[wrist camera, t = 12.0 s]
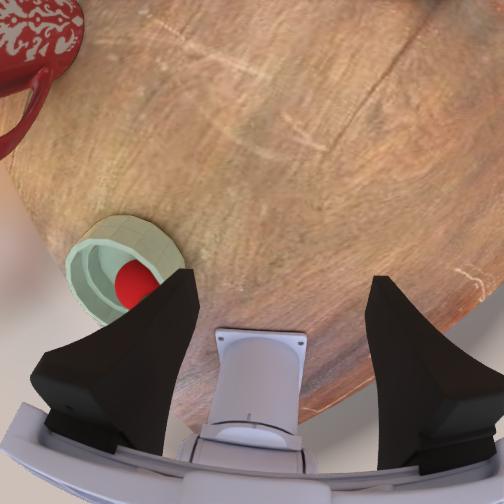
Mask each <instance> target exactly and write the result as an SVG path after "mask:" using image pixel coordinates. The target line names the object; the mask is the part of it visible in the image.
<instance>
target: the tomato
mask: <svg viewBox="0 0 504 504" xmlns="http://www.w3.org/2000/svg"><path fill="white" fill-rule="evenodd" d="M114 286H115V293H116V296H117V298H118V300H119V301H120V302H121V304H122V305H123V306H124V307H126V308H127V309H129V310H131V309H132V308H133V307H134V306H136V305H137V304H138V303H139V302H141V301H142V300H143V299H144V298H146V297H147V296H148V295H149V294H150V293H152V292H153V291H154V290H155V289H156V288H157V287H158V286H160V284H159V282H158V281H157V279H156V278H155V276H154V275H153V273H152V272H151V271H150V269H148V268H147V267H146V266H145V265H143V264H142V263H141V262H140V261H138V260H137V259H135V260H131V261H129V262H127V263H126V264H124V265H123V266H122V267H121V268H120V270H119V271H118V273H117V275H116V278H115V285H114Z"/></svg>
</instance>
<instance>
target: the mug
mask: <svg viewBox="0 0 504 504" xmlns="http://www.w3.org/2000/svg"><path fill="white" fill-rule="evenodd" d="M82 36H83V15H82V12H81V9H80V7H79V5H78V3H77V2H76V1H75V0H0V99H1V98H3V97H6V96H9V95H11V94H15V93H17V92H20V91H23V90H26V89H29V88H32V89H33V95H32V98H31V101H30V103H29V105H28V108H27V110H26V112H25V114H24V116H23V118H22V119H21V121H20V122H19V123H18V125H17V126H16V127H15V128H14V129H12V130H11V131H10V132H8V133H7V134H5V135H3V136H1V137H0V160H2V159H3V158H4V157H6V156H7V155H8V154H9V153H11V152H12V151H13V150H14V149H15V148H16V146H17V145H18V144H19V143H20V142H21V140H22V139H23V138H24V136H25V135H26V133H27V132H28V130H29V129H30V127H31V126H32V124H33V122H34V121H35V119H36V117H37V115H38V113H39V111H40V109H41V107H42V105H43V103H44V101H45V99H46V97H47V94H48V92H49V89H50V86H51V83H52V81H53V80H55V79H57V78H58V77H59V76H61V75H62V74H63V73H64V72H65V71H66V70H67V69H68V67H69V66H70V65H71V63H72V62H73V60H74V58H75V56H76V54H77V52H78V50H79V47H80V44H81V41H82Z"/></svg>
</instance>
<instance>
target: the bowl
mask: <svg viewBox="0 0 504 504" xmlns="http://www.w3.org/2000/svg"><path fill="white" fill-rule="evenodd" d="M135 259H137V260H138V261H140V262H141V263H142V264H143V265H145V266H146V267H147V268H148V269H150V271H151V272H152V273H153V275H154V276H155V278H156V279H157V281H158V282H159V284H160V285H161V284H162V283H163V282H164V281H165V280H166V279H167V278H168V277H170V276H171V275H172V274H173V273H174V272H175V271H176V270H178V269H179V268H184V269H186V268H185V262H184V258H183V256H182V255H181V253H180V252H179V250H178V248H177V247H176V245H175V244H174V242H173V240H171V238H170V237H168V236H167V235H166V234H165V233H164V232H162V231H161V230H160V229H159V228H158V227H156V226H155V225H154V224H152V223H150V222H148V221H145V220H142V219H140V218H137V217H135V216H131V215H112V216H109V217H107V218H105V219H103V220H101V221H99V222H98V223H96V224H95V225H94V226H93V227H92V228H91V229H90V230H89V231H88V232H87V233H86V234H85V235H84V236H83V237H82V238H81V239H80V240H79V241H78V242H77V243H76V244H75V245H74V246H73V247H72V249H71V251H70V253H69V255H68V257H67V259H66V261H65V264H66V280H67V282H68V284H69V287H70V289H71V292H72V294H73V296H74V297H75V299H76V300H77V301H78V303H80V305H81V306H82V307H83V309H84V310H85V311H86V312H87V313H88V314H89V315H90V316H92V317H93V318H94V319H95V320H97V321H98V322H99V323H101V324H102V325H104V326H107V325H109V324H110V323H112V322H113V321H115V320H116V319H118V318H119V317H121V316H122V315H124V314H125V313H127V312H128V311H129V309H127V308H126V307H124V306H123V305H122V304H121V302H120V301H119V300H118V298H117V296H116V293H115V286H114V285H115V278H116V275H117V273H118V271H119V270H120V268H121V267H122V266H123V265H124V264H126V263H127V262H129V261H131V260H135Z"/></svg>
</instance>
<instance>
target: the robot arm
mask: <svg viewBox="0 0 504 504" xmlns="http://www.w3.org/2000/svg"><path fill="white" fill-rule="evenodd" d="M199 309H200V304H199V299H198V293H197V288H196V282H195V276H194V270H193V269H184V268H179V269H178V270H176V271H175V272H174V273H173V274H172V275H171V276H170V277H168V278H167V279H166V280H165V281H164V282H163V283H162V284H161V285H160V286H158V287H157V288H156V289H155V290H154V291H153V292H152V293H150V294H149V295H148V296H147V297H146V298H144V299H143V300H142V301H141V302H139V303H138V304H137V305H136V306H134V307H133V308H132V309H131V310H129V311H128V312H127V313H125V314H124V315H122V316H121V317H119V318H118V319H116V320H115V321H113V322H112V323H110V324H109V325H107V326H105V327H103V328H101V329H100V330H98V331H96V332H94V333H92V334H91V335H89V336H86V337H84V338H82V339H80V340H78V341H75V342H73V343H71V344H69V345H66V346H63V347H60V348H57V349H54V350H51V351H48V352H45V353H44V355H43V356H42V358H41V360H40V361H39V363H38V364H37V366H36V368H35V369H34V371H33V372H32V374H31V376H30V381H31V383H32V386H33V387H34V389H35V390H36V392H37V393H38V394H39V395H40V396H41V397H42V399H43V400H44V401H45V402H46V403H47V404H48V406H49V407H50V408H51V410H50V412H49V414H47V413H45V412H44V411H42V410H41V409H38V408H36V407H34V406H32V405H29V404H27V403H25V402H23V403H22V404H21V406H20V408H19V409H18V411H17V413H16V415H15V417H14V419H13V421H12V423H11V424H10V426H9V429H8V430H7V432H6V434H5V437H4V438H3V440H2V442H1V444H0V450H1V451H2V452H3V453H5V454H6V455H7V456H9V457H10V458H11V459H13V460H14V461H15V462H17V463H18V464H19V465H21V466H22V467H24V468H25V469H26V470H28V471H29V472H31V473H32V474H34V475H36V476H38V477H39V478H41V479H43V480H45V481H46V482H48V483H50V484H52V485H54V486H56V487H58V488H60V489H62V490H64V491H66V492H68V493H70V494H72V495H74V496H76V497H78V498H80V499H83V500H85V501H87V502H89V503H92V504H504V438H502V439H499V440H498V441H496V442H494V439H493V435H495V434H496V428H495V423H496V422H497V421H498V420H499V419H500V418H501V417H502V416H503V415H504V375H502V374H501V373H499V372H497V371H495V370H493V369H491V368H489V367H487V366H485V365H484V364H482V363H481V362H479V361H477V360H476V359H474V358H473V357H471V356H469V355H468V354H467V353H465V352H464V351H463V350H461V349H460V348H459V347H457V346H456V345H455V344H453V343H452V342H451V341H449V340H448V339H447V338H446V337H445V336H444V335H443V334H442V333H440V332H439V331H438V330H437V329H436V328H435V327H434V326H433V325H432V324H431V323H430V322H429V321H428V320H427V319H426V318H425V317H424V316H423V315H422V314H421V313H420V312H419V311H418V310H417V309H416V307H415V306H414V305H413V304H412V303H411V302H410V301H409V300H408V298H407V297H406V296H405V295H404V294H403V293H402V291H401V290H400V289H399V288H398V287H397V286H396V284H395V283H394V282H393V281H392V280H391V279H390V277H389V276H374V277H373V281H372V286H371V290H370V294H369V298H368V302H367V306H366V310H365V323H366V333H367V339H368V344H369V349H370V353H371V358H372V363H373V368H374V372H375V377H376V383H377V391H378V408H379V451H378V465H377V471H369V472H355V473H354V472H353V473H331V474H330V473H329V474H318V466H317V461H316V458H315V457H314V455H313V454H312V453H311V451H310V450H309V449H303V448H302V447H301V446H302V437H300V436H297V423H298V401H299V393H300V388H301V381H302V374H303V367H304V360H305V353H306V345H307V335H306V334H304V333H290V332H269V331H251V330H236V329H222V328H219V329H217V330H216V332H215V337H216V342H217V348H218V354H219V359H220V365H221V367H220V371H219V375H218V380H217V384H216V388H215V392H214V396H213V401H212V405H211V409H210V413H209V418H208V422H207V424H203V426H202V430H201V434H200V435H199V434H194V433H193V434H191V435H190V436H189V437H187V438H185V439H184V440H183V442H182V443H181V445H180V448H179V450H178V453H177V456H176V460H175V459H170V458H166V457H162V454H163V446H164V438H165V431H166V426H167V419H168V415H169V410H170V405H171V400H172V396H173V391H174V387H175V383H176V379H177V376H178V373H179V370H180V367H181V364H182V362H183V359H184V356H185V354H186V351H187V348H188V346H189V343H190V340H191V338H192V335H193V332H194V330H195V326H196V322H197V318H198V314H199ZM222 337H223V338H222Z"/></svg>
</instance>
